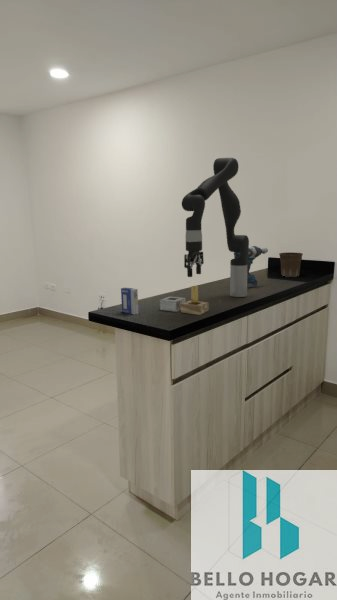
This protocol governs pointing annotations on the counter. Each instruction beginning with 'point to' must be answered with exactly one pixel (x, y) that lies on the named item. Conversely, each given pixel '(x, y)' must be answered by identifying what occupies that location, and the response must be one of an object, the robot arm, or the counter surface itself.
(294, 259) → the plant pot
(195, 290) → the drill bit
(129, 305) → the walkman
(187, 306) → the rack block
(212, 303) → the counter surface
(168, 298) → the socket block
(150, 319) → the counter surface
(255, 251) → the impact wrench
